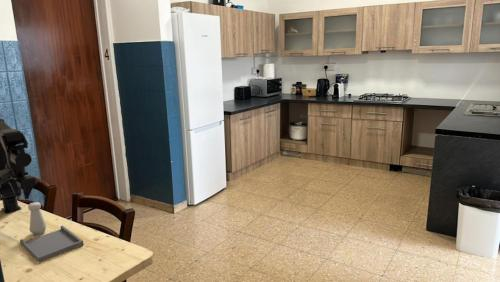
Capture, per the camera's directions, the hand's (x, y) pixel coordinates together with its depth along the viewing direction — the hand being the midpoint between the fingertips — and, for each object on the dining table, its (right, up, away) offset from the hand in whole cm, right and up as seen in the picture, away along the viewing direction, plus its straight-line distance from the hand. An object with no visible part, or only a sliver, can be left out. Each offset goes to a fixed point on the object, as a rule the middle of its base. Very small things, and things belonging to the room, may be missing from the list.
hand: (21, 196), depth 154 cm
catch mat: (+21, -16, -15) cm, 30 cm away
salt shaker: (+11, -14, -7) cm, 19 cm away
